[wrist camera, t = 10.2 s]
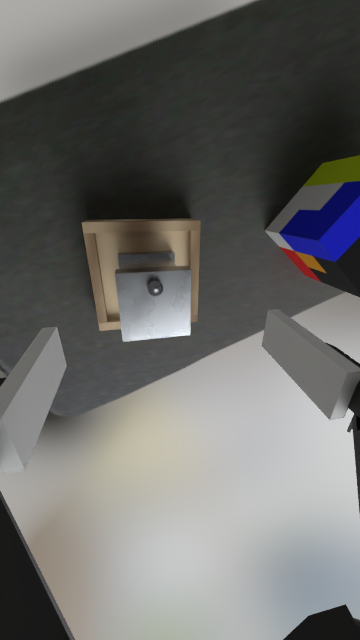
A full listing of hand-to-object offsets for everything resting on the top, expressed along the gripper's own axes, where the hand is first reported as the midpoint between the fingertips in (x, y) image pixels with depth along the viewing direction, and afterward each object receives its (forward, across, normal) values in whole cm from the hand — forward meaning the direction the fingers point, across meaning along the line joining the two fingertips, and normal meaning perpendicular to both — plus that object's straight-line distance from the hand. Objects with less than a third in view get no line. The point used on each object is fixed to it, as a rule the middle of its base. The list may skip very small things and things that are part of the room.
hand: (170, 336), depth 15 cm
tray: (+18, +1, 0) cm, 18 cm away
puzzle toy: (+18, -22, -5) cm, 29 cm away
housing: (+14, +1, 0) cm, 15 cm away
